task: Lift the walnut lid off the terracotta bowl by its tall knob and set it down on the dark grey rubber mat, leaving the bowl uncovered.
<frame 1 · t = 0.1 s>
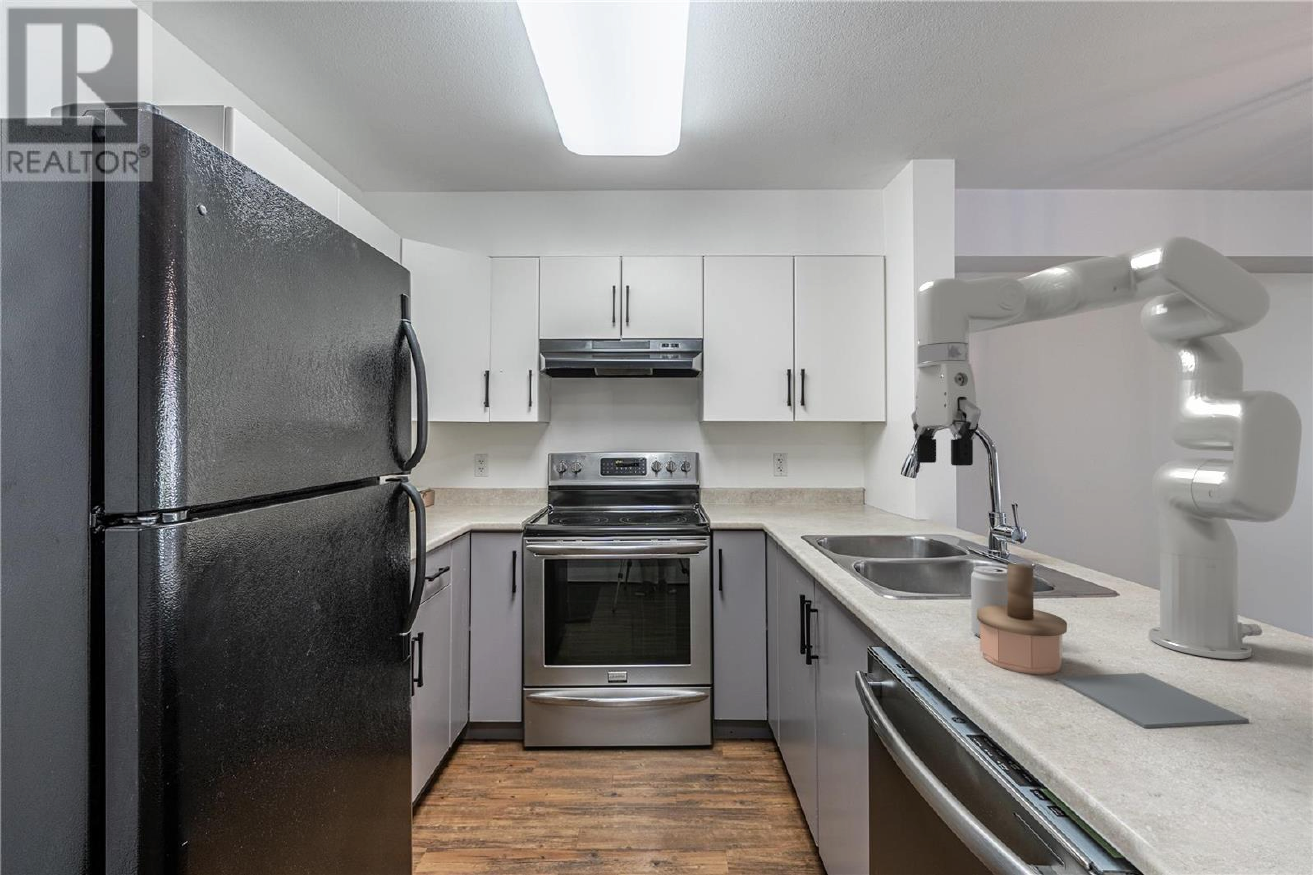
hand: (943, 463, 93), 31 cm above the counter, tool pointing down, fingers open, 9 cm apart
bowl: (1020, 660, 91), on the counter
beverage can: (991, 637, 102), on the counter
mat: (1143, 699, 77), on the counter
lid: (1020, 623, 91), point 6 cm above the counter, touching bowl
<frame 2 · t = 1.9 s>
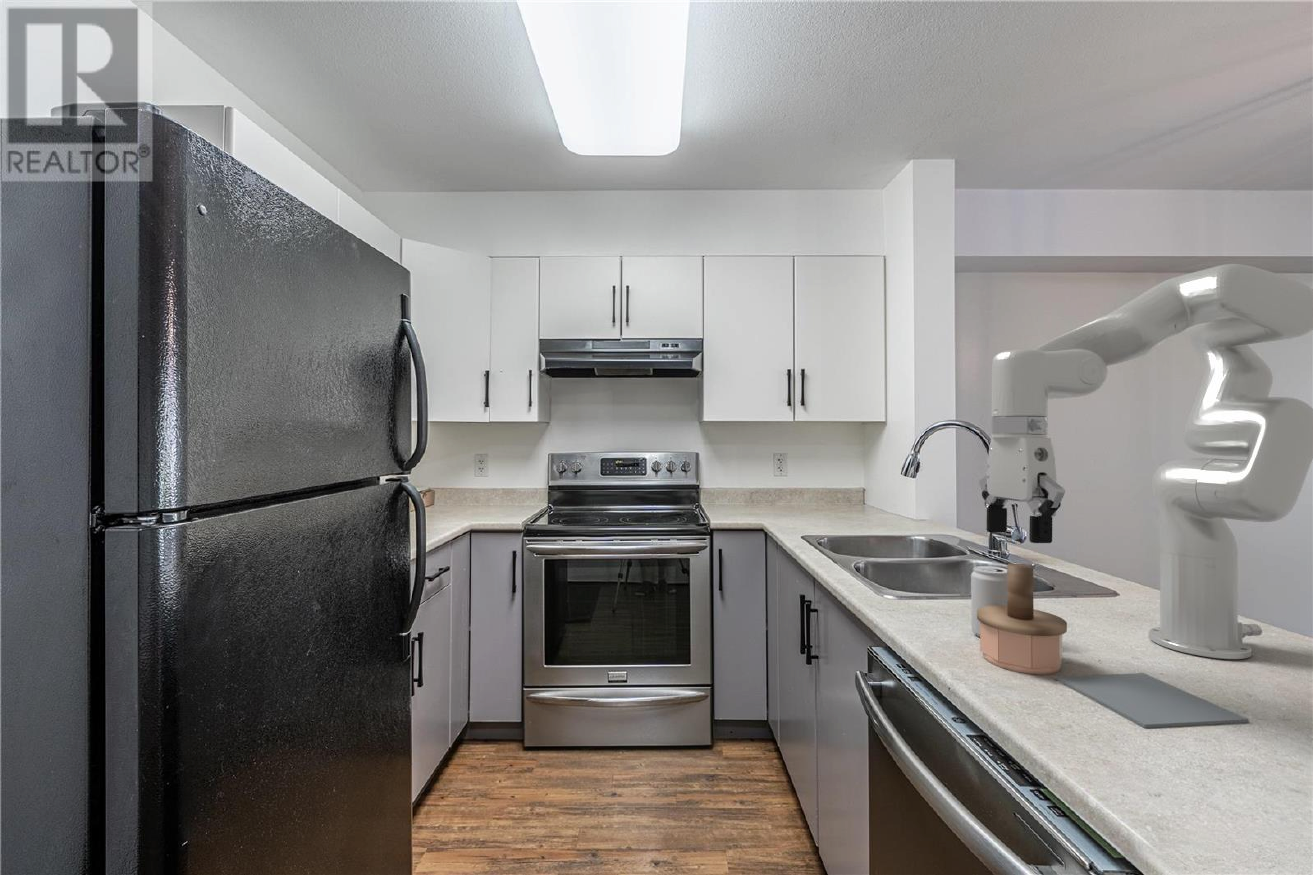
hand: (1017, 537, 91), 20 cm above the counter, tool pointing down, fingers open, 9 cm apart
nothing on the counter moved.
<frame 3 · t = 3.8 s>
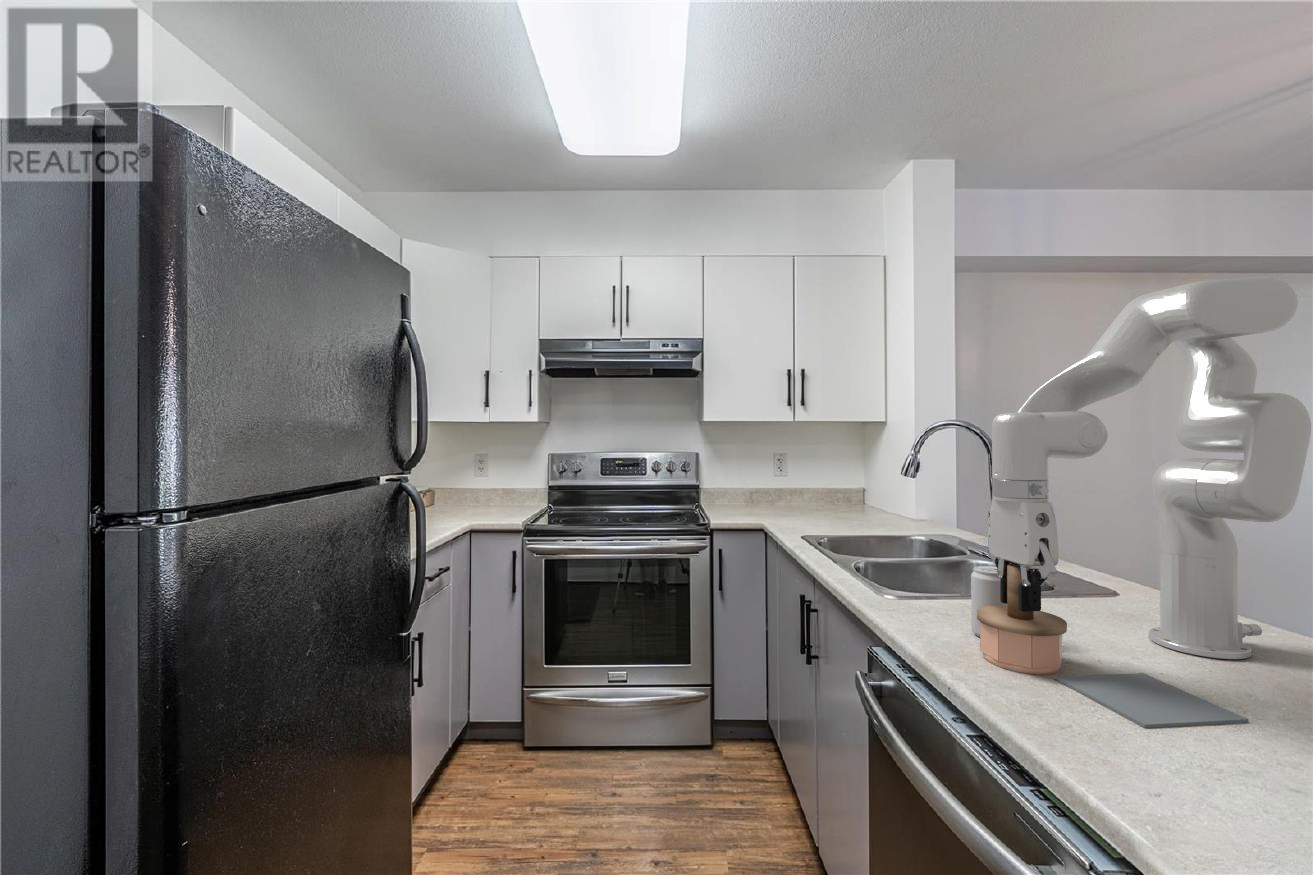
hand: (1020, 605, 91), 9 cm above the counter, tool pointing down, fingers closed on lid, 3 cm apart
lid: (1020, 623, 91), point 6 cm above the counter, touching bowl, gripper
everything else where it was.
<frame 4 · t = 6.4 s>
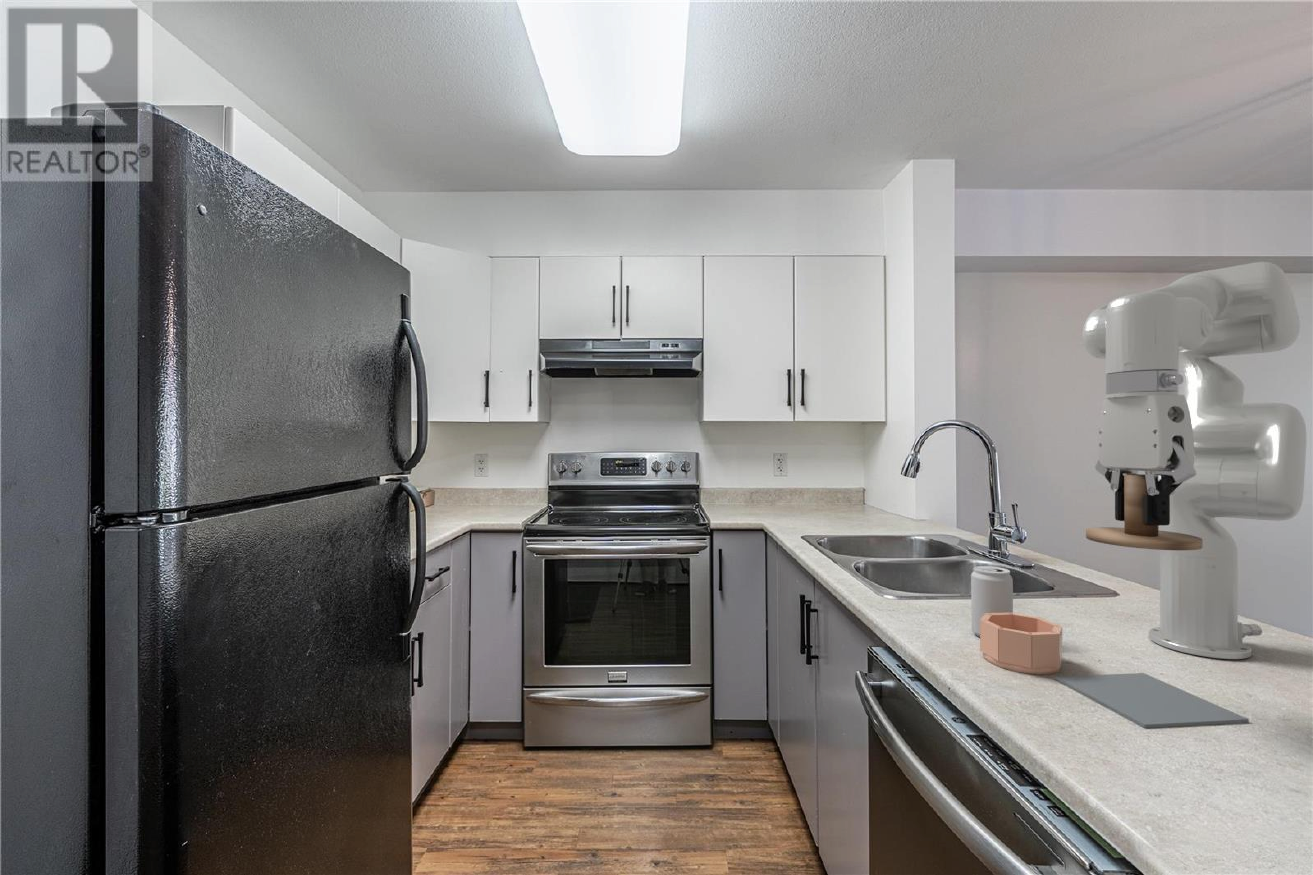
hand: (1141, 521, 77), 24 cm above the counter, tool pointing down, fingers closed on lid, 3 cm apart
lid: (1141, 541, 77), point 21 cm above the counter, touching gripper
everything else where it was.
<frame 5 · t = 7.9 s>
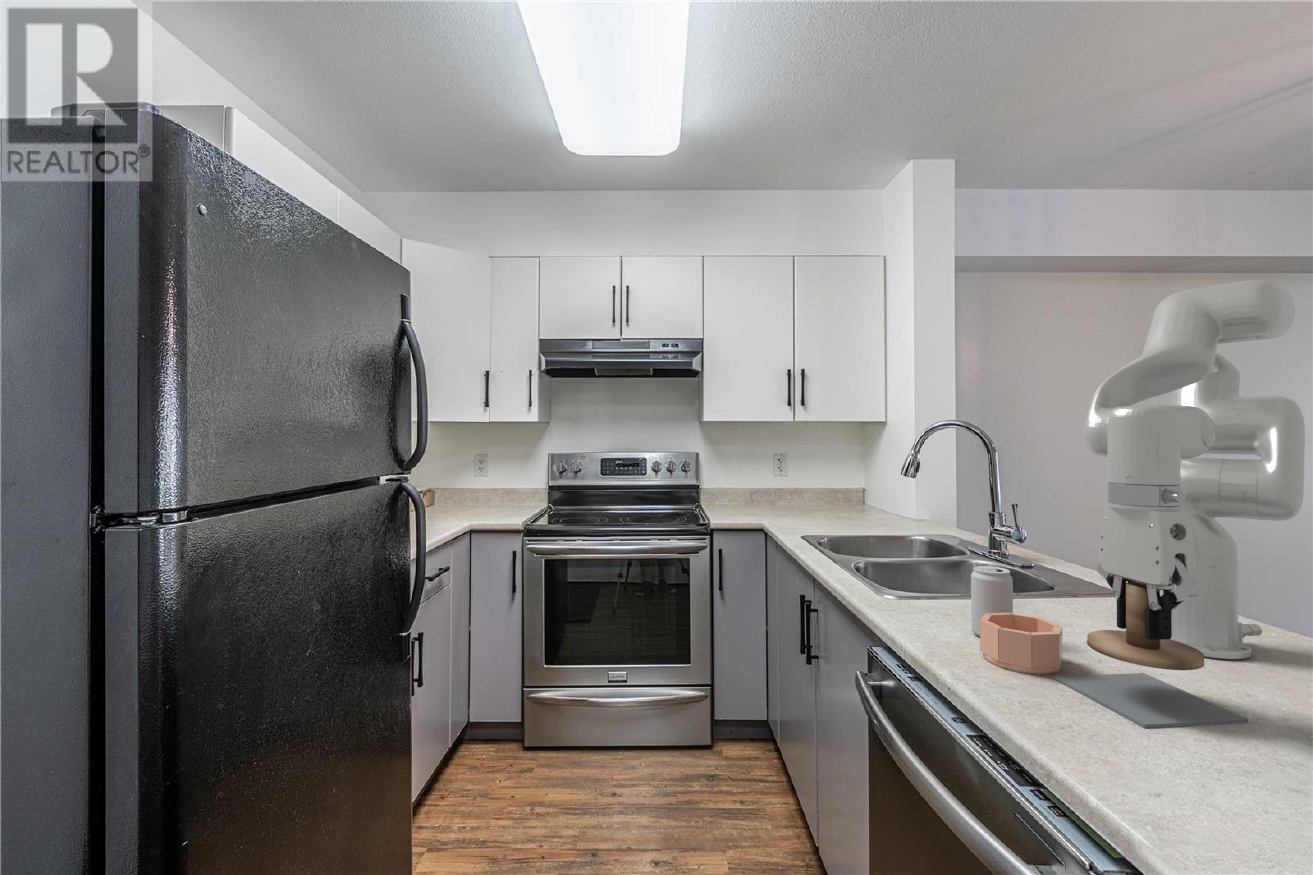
hand: (1143, 631, 77), 9 cm above the counter, tool pointing down, fingers closed on lid, 3 cm apart
lid: (1142, 652, 77), point 6 cm above the counter, touching gripper
everything else where it was.
when the fingers open (5 cm above the counter, at t = 8.9 s): lid drops 2 cm, resting on mat.
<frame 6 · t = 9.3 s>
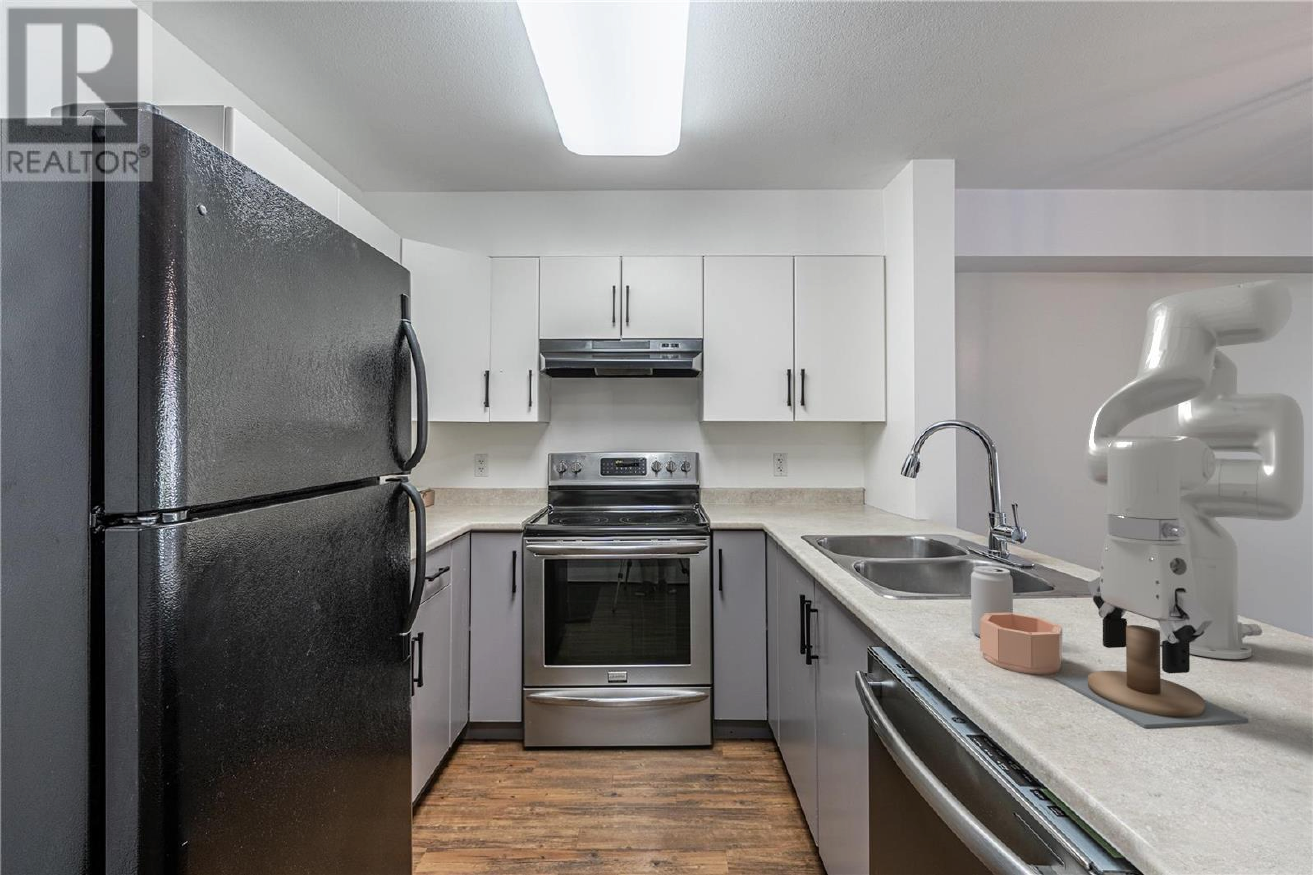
hand: (1143, 658, 77), 6 cm above the counter, tool pointing down, fingers open, 8 cm apart
lid: (1143, 696, 77), resting on mat
everything else where it was.
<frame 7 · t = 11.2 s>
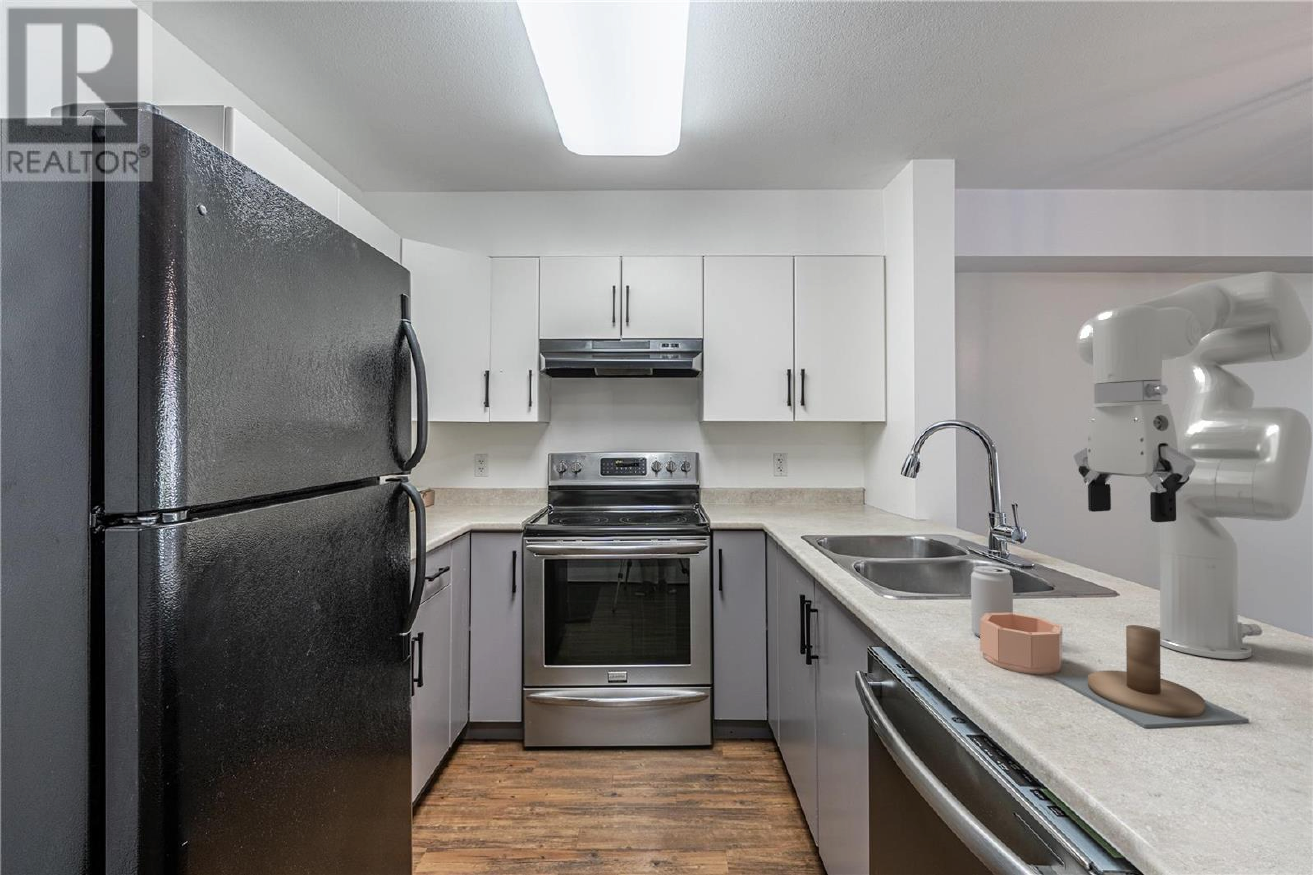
hand: (1129, 515, 82), 24 cm above the counter, tool pointing down, fingers open, 9 cm apart
nothing on the counter moved.
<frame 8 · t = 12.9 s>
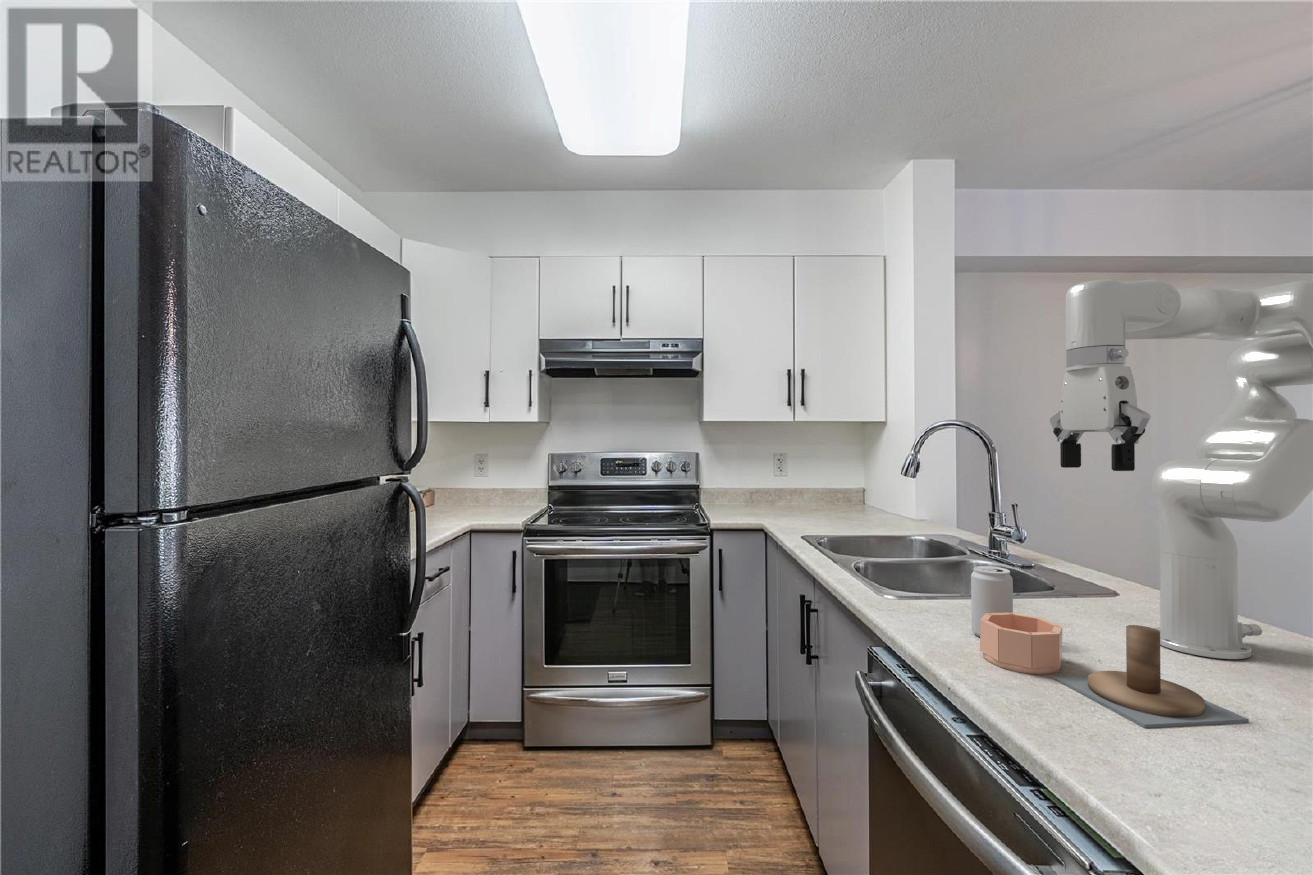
hand: (1095, 469, 91), 30 cm above the counter, tool pointing down, fingers open, 9 cm apart
nothing on the counter moved.
at the end: lid inside the target area on the mat (0.0 cm from its centre), point 0.4 cm above the mat's base; lid touching mat; lid tilted 0° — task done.
